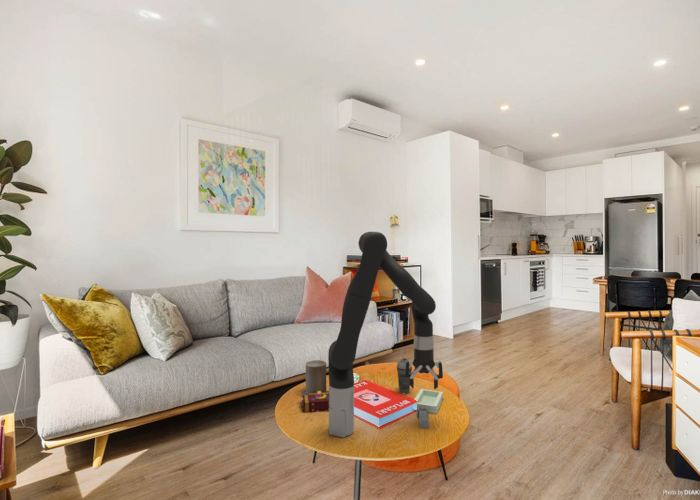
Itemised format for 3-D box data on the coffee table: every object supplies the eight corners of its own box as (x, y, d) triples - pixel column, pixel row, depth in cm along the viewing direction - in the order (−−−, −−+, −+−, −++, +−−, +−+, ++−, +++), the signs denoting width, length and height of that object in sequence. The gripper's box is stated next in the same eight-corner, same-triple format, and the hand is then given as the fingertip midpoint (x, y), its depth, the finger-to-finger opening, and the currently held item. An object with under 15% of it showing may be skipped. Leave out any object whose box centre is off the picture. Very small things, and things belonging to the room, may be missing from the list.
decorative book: (339, 411, 162) (339, 399, 162) (300, 413, 159) (300, 401, 159) (335, 400, 173) (335, 389, 173) (299, 402, 170) (299, 391, 170)
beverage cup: (407, 396, 177) (407, 352, 177) (393, 392, 181) (393, 349, 181) (414, 391, 183) (415, 349, 182) (401, 388, 187) (401, 346, 187)
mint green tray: (436, 414, 159) (436, 406, 159) (412, 410, 162) (412, 402, 162) (442, 398, 174) (443, 392, 174) (420, 395, 178) (420, 388, 178)
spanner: (430, 429, 146) (430, 421, 146) (418, 428, 146) (418, 420, 146) (427, 414, 159) (427, 406, 159) (416, 413, 159) (416, 406, 159)
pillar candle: (330, 391, 183) (330, 359, 183) (318, 397, 175) (318, 364, 175) (313, 387, 188) (313, 356, 188) (301, 393, 180) (301, 361, 180)
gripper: (405, 348, 148) (405, 391, 149) (443, 349, 146) (443, 392, 147) (405, 343, 156) (405, 384, 156) (441, 344, 154) (441, 385, 154)
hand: (423, 388), depth 151 cm, fingers open, 8 cm apart
